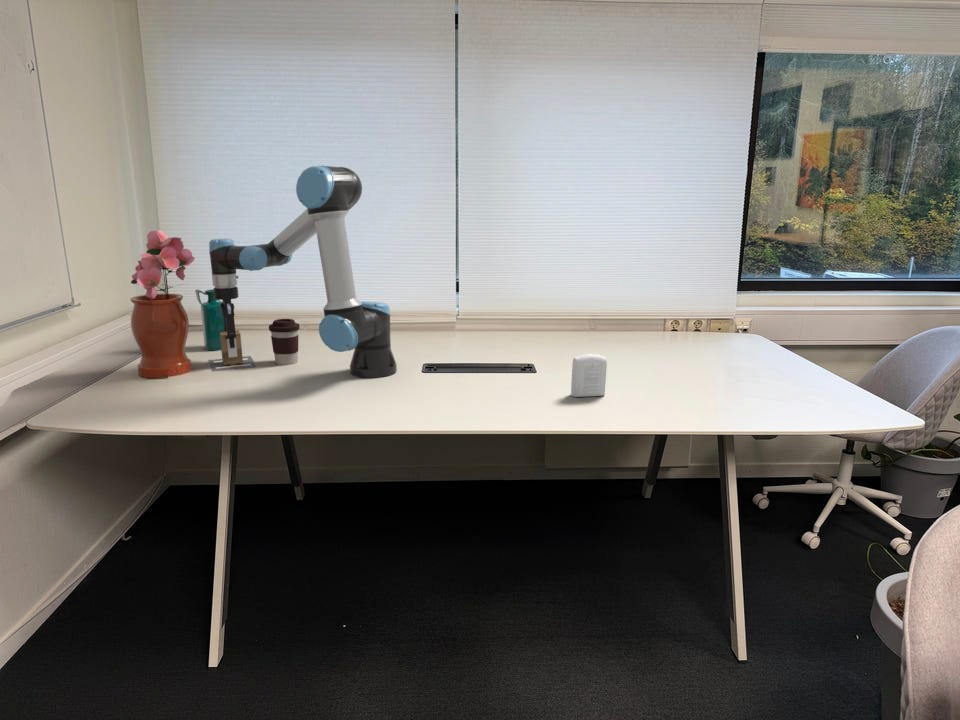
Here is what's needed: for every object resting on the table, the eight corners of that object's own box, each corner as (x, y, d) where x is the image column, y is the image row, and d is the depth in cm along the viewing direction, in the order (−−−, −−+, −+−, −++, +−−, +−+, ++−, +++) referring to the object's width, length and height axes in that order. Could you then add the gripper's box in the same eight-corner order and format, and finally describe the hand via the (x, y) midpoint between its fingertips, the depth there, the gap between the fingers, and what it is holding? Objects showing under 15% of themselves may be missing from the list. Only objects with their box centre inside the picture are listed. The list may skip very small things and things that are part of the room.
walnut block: (243, 362, 223) (240, 333, 221) (224, 364, 221) (221, 335, 218) (240, 358, 228) (238, 330, 226) (222, 360, 226) (219, 332, 223)
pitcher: (227, 344, 253) (222, 287, 248) (232, 349, 246) (226, 290, 241) (200, 347, 248) (194, 288, 243) (204, 352, 241) (198, 292, 236)
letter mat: (257, 368, 221) (256, 366, 221) (212, 372, 215) (211, 371, 215) (250, 357, 235) (250, 355, 235) (208, 361, 229) (208, 359, 229)
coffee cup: (265, 365, 224) (262, 322, 220) (282, 358, 233) (279, 316, 229) (291, 368, 221) (288, 324, 217) (307, 361, 230) (304, 318, 226)
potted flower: (210, 360, 230) (198, 228, 218) (189, 381, 205) (174, 233, 194) (153, 361, 227) (137, 228, 216) (125, 382, 203) (105, 233, 192)
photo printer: (601, 392, 198) (603, 351, 195) (607, 396, 194) (609, 355, 191) (568, 394, 196) (570, 353, 193) (573, 398, 192) (575, 357, 189)
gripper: (240, 289, 212) (247, 359, 217) (234, 282, 228) (240, 347, 234) (215, 291, 208) (222, 362, 214) (210, 283, 225) (217, 350, 231)
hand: (232, 354), depth 224 cm, fingers closed on walnut block, 6 cm apart
